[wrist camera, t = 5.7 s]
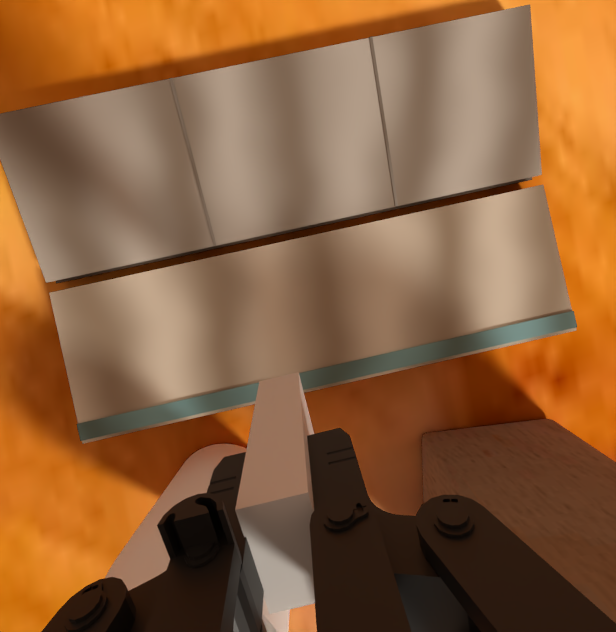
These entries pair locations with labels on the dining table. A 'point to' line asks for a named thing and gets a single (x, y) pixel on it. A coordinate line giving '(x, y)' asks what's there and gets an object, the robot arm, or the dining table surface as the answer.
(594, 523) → the wooden block
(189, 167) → the laid row
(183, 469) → the cup
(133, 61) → the dining table surface
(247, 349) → the plank
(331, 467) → the robot arm
